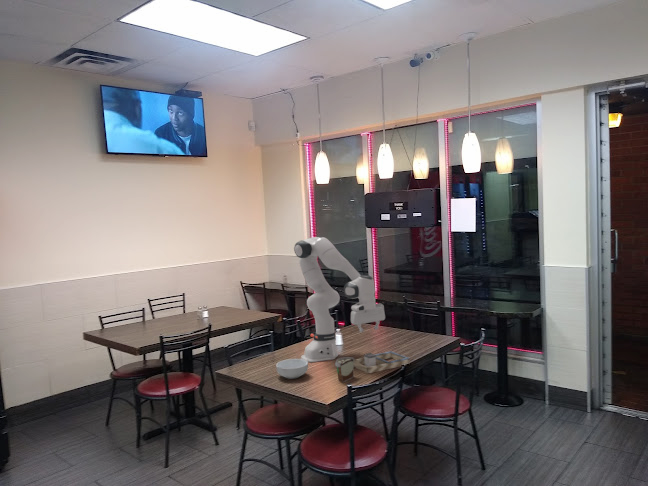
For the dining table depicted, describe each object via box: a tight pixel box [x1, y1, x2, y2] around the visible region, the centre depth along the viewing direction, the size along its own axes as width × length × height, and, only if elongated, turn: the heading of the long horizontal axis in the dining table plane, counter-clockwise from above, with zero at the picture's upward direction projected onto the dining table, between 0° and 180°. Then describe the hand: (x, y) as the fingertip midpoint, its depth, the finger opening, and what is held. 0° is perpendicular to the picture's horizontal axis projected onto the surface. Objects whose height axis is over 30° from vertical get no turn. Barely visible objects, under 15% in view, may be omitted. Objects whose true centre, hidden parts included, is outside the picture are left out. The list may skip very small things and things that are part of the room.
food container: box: [334, 356, 355, 383], centre depth 247 cm, size 12×6×10 cm, turn 141°
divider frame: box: [354, 351, 410, 374], centre depth 267 cm, size 27×17×4 cm, turn 117°
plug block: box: [363, 352, 377, 367], centre depth 264 cm, size 4×5×7 cm
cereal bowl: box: [275, 358, 309, 380], centre depth 255 cm, size 17×17×7 cm
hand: (368, 330), depth 263 cm, fingers open, 8 cm apart
